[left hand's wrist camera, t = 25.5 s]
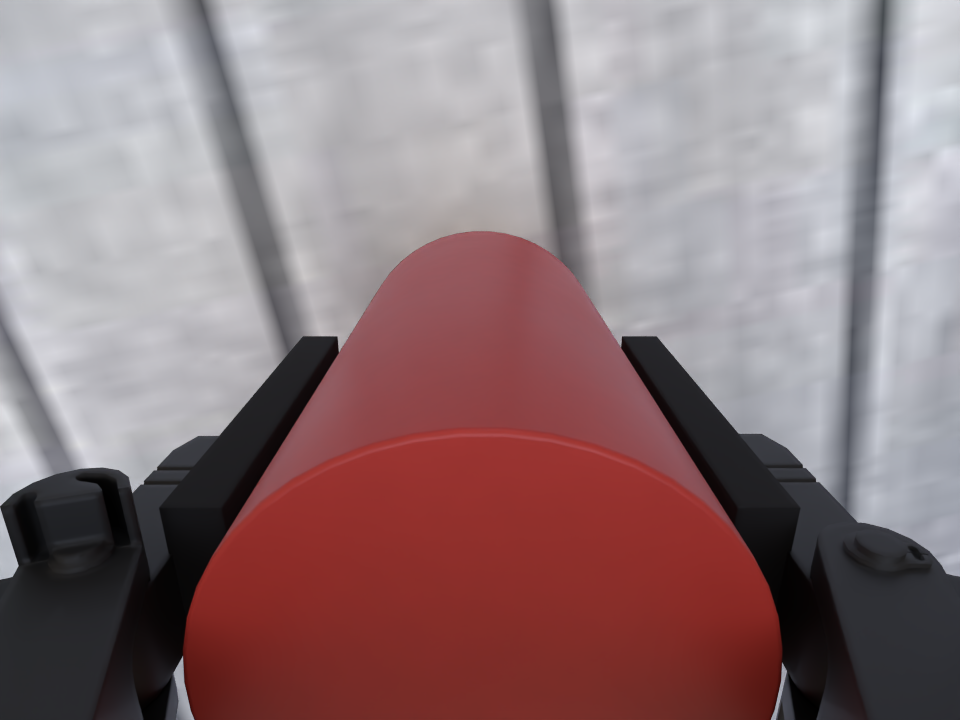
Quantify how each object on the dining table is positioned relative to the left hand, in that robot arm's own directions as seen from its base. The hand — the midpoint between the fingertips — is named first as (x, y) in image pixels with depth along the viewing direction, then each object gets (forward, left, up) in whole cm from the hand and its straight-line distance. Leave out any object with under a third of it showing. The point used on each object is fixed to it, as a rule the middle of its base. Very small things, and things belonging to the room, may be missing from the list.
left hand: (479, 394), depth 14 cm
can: (0, 0, -3) cm, 3 cm away
